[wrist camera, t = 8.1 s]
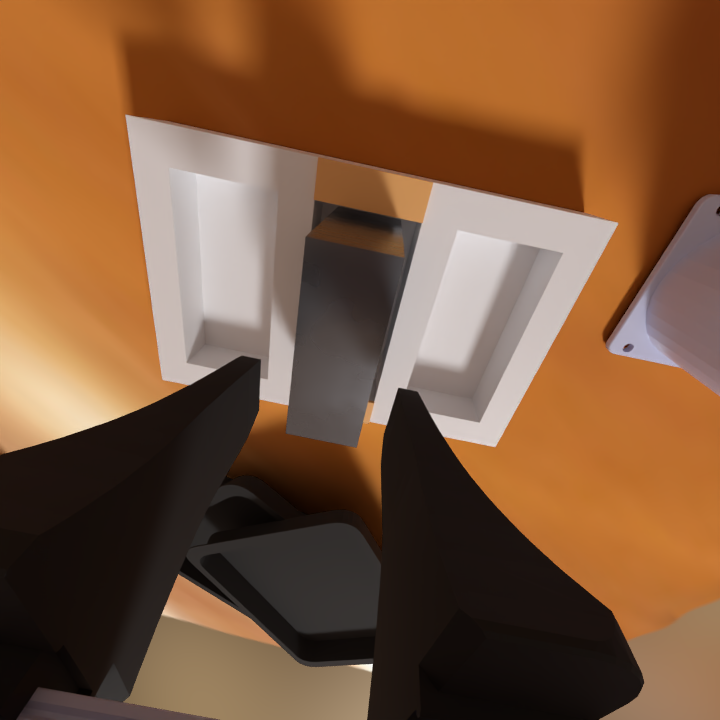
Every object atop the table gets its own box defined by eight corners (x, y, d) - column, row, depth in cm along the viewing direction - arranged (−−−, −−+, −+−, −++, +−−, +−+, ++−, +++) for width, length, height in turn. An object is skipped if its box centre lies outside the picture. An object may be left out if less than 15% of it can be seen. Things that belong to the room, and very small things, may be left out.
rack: (584, 212, 16) (621, 223, 13) (484, 415, 22) (496, 449, 20) (167, 120, 15) (121, 114, 13) (187, 355, 22) (160, 381, 19)
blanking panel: (400, 219, 16) (404, 257, 10) (367, 361, 20) (356, 447, 14) (338, 206, 16) (305, 236, 10) (317, 351, 20) (285, 433, 14)
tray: (124, 550, 35) (85, 606, 31) (141, 382, 24) (82, 434, 19) (388, 629, 39) (387, 689, 35) (513, 519, 28) (536, 588, 23)
